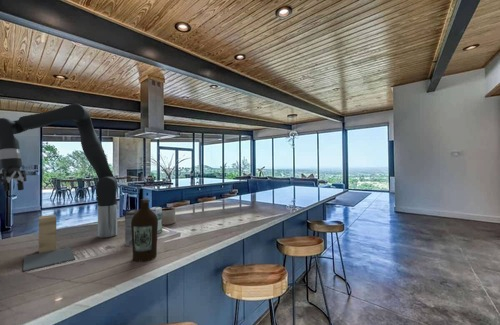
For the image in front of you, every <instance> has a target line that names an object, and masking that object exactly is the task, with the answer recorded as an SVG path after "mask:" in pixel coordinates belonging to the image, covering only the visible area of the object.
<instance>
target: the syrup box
mask: <svg viewBox="0 0 500 325" xmlns="http://www.w3.org/2000/svg"><path fill="white" fill-rule="evenodd" d="M149 208H150V209H151V210H152V211H153V212H154V213H155V214H156V216H157V218H158V230H157V234H159V233H161V232H163V225H162V207H160V206H153V207H149Z"/></svg>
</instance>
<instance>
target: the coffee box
mask: <svg viewBox="0 0 500 325" xmlns="http://www.w3.org/2000/svg"><path fill="white" fill-rule="evenodd" d="M139 210H140V209H131V210H129V211H128V212H125V213H124V245H125V246H127V247H128V246H131V247H132V230H131V221H132V218H133V216H134V215H135V214H136V213H137V212H138V211H139Z"/></svg>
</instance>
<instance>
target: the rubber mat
mask: <svg viewBox="0 0 500 325" xmlns="http://www.w3.org/2000/svg"><path fill="white" fill-rule="evenodd" d="M75 259H77V258H76V256H75V255H74V252H73V251H72V248H71V247H65V248H61V249H56V250H54V251H49V252H44V253H39V252H38V253H35V254H31V255H30V254H29V255H24V256H23V266H22V267H23V269H22V271H23V272H29V271H33V270H37V269H41V268H45V267H46V268H47V267H49V266H54V265H59V264H63V263H67V261H68V262H71V260H72V261H76V260H75Z"/></svg>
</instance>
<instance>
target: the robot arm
mask: <svg viewBox="0 0 500 325" xmlns="http://www.w3.org/2000/svg"><path fill="white" fill-rule="evenodd" d="M64 121H74V123H75V126H76V127H77V130H78V132H79V137H80V145H81V149H82V151H83V153H84V156H85V158H86V159H87V161H88V163H89V164H90V165H91V167H92V168H93V170H94V171H95V173H96V176H97V179H98V180H97V182H96V187H95V188H96V189H95V190H96V202H97V238H101V239H103V238H111V237H114V236H117V234H118V213H117V212H118V211H117V208H118V207H117V205H118V203H117V202H118V201H117V195H116V194H117V193H116V190H117V189H118V188H117V187H118V180H117V179H116V177H115V176H114V173H113V171H112V170H111V168H110V165H109V162H108V159H107V157H106V156H107V155H106V153H105V150H104V147H103V145H102V143H101V141H100V138H99V135H98V134H97V132H96V131H95V127H94V125H93V122H92V118H91V115H90V112H89V110H88V108H86V107H85V106H83V105H81V104H78V103H70V104H69V105H66V106H62V107H59V108H57V109H53V110H48V111H46V112H45V111H44V112H39V113H34V114H29V115H24V116H20V117H19V118H18V119H17V120H10V119H8V118H5V117H0V183H1V184H2V185H3V191H4V192H8V191H9V192H10V191H11V190H12V188H11V183H10V182H11V180H12V179H13V180H14V181H15V182H16V183H17V184H16V185H17V190H18V191H23V190H24V188H25V187H24V183H25V182H27V181H28V180H27V174H26V170H24V169H23V170H21V168H22V167H23V162H22V155H21V154H22V152H21V150H20V142H19V140H18V138H17V137H15V135H18V134H21V133H24V132H26V131H29V130H34V129H39V128H44V127H47V126H50V125H53V124H54V123H59V122H64Z"/></svg>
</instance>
